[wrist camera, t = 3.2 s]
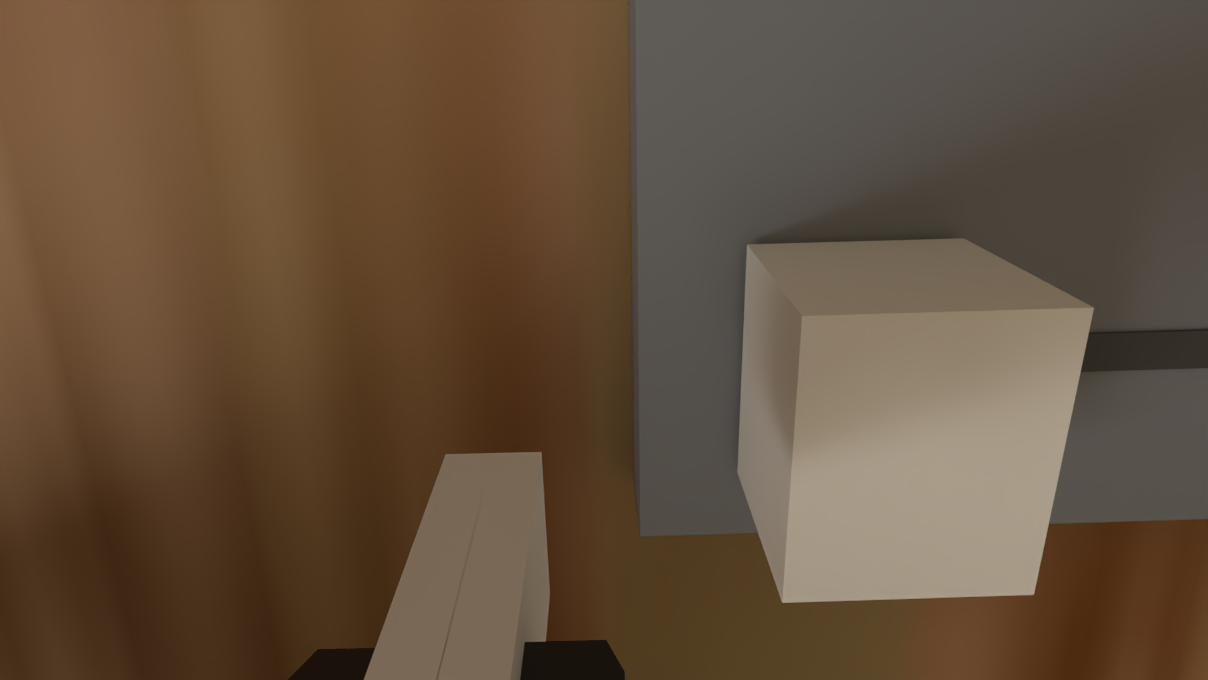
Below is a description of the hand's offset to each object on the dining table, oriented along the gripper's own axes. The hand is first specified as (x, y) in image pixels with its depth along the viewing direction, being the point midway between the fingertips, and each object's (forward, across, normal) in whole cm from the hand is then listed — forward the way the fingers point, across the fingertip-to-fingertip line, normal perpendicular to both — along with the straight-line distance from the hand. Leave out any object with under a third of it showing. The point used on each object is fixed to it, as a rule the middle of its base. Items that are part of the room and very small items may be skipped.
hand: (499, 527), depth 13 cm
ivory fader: (+7, +8, 0) cm, 10 cm away
